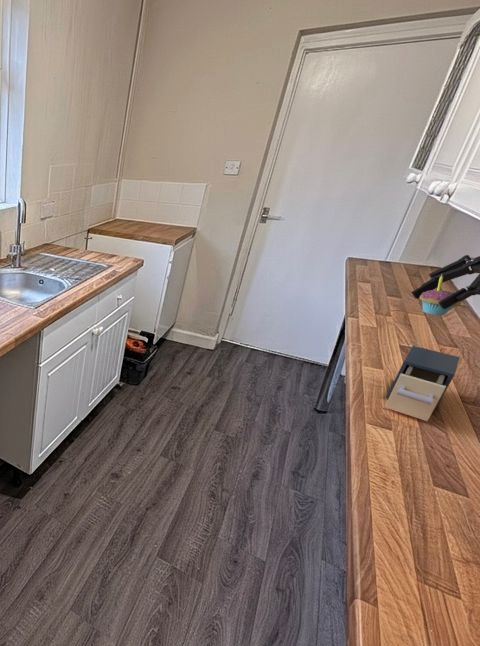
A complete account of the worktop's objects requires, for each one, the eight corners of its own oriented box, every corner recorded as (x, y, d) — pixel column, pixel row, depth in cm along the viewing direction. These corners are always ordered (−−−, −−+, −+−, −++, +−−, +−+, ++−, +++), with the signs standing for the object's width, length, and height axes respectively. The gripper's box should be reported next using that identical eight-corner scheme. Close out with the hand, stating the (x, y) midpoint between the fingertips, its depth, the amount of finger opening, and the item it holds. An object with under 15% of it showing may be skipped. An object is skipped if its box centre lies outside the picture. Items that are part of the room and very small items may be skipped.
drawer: (424, 429, 99) (443, 394, 95) (380, 413, 105) (396, 380, 101) (434, 402, 110) (451, 370, 106) (393, 389, 115) (408, 358, 111)
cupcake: (417, 313, 125) (435, 276, 121) (410, 305, 132) (427, 269, 127) (458, 320, 121) (478, 281, 116) (449, 311, 127) (467, 274, 122)
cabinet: (433, 413, 107) (454, 374, 102) (386, 397, 113) (404, 360, 108) (440, 393, 115) (460, 357, 110) (395, 380, 121) (412, 345, 117)
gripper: (564, 269, 108) (467, 322, 116) (481, 250, 128) (403, 297, 135) (553, 248, 107) (455, 304, 115) (471, 233, 126) (392, 281, 134)
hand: (427, 300), depth 125 cm, fingers closed on cupcake, 8 cm apart
